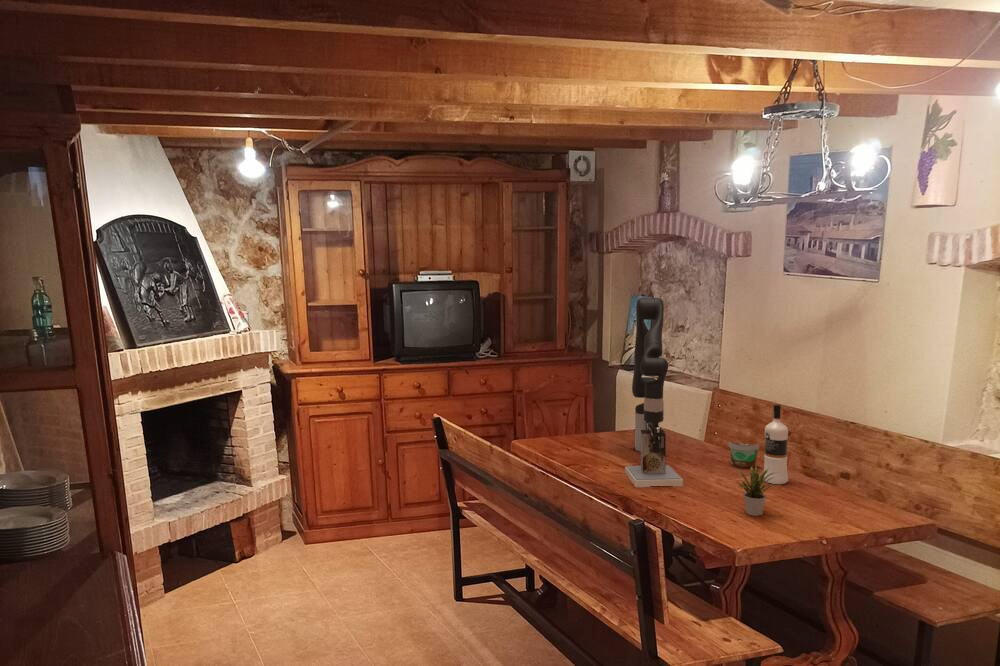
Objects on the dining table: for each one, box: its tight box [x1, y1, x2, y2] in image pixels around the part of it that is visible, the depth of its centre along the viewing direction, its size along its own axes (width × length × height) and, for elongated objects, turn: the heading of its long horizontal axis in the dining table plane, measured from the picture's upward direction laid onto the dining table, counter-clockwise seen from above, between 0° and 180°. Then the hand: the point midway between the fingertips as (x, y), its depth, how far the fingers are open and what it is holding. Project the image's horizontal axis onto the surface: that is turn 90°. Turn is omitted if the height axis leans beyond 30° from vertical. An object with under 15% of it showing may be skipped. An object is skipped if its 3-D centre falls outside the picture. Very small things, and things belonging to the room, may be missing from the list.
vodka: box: [762, 403, 789, 485], centre depth 267 cm, size 9×9×30 cm
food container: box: [727, 441, 761, 470], centre depth 287 cm, size 12×6×10 cm, turn 68°
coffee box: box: [640, 429, 667, 474], centre depth 272 cm, size 9×6×16 cm
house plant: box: [735, 465, 777, 517], centre depth 233 cm, size 14×14×16 cm
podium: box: [624, 464, 684, 488], centre depth 273 cm, size 18×18×3 cm
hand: (653, 449), depth 272 cm, fingers open, 8 cm apart
